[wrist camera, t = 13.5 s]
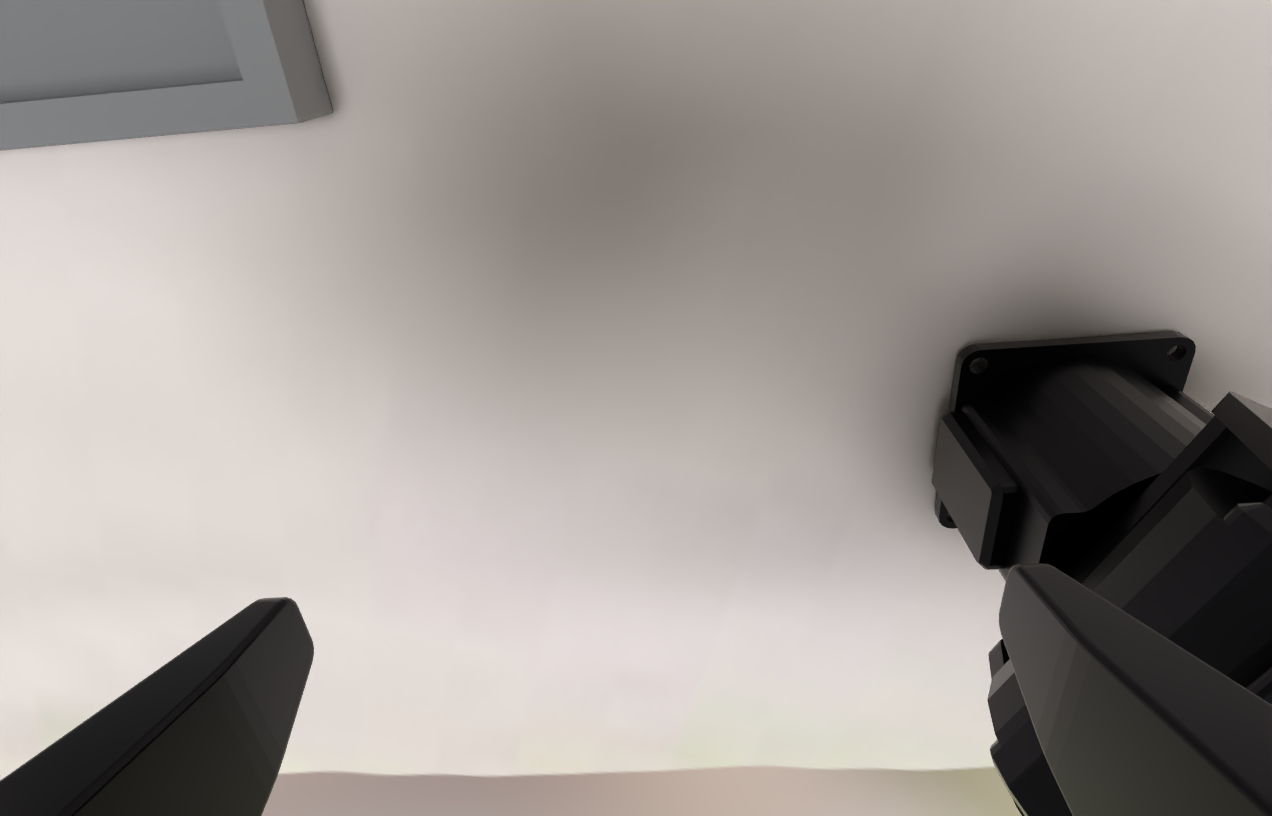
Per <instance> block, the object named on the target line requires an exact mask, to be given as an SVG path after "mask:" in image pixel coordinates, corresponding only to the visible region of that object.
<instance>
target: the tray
mask: <svg viewBox="0 0 1272 816" xmlns="http://www.w3.org/2000/svg"><path fill="white" fill-rule="evenodd" d="M330 113H333V111H332V107H331V103H330V100H329V96H328V92H327V89H326V85H325V81H324V78H323V74H322V70H321V67H320V63H319V59H318V56H317V52H316V48H315V45H314V41H313V37H312V34H311V30H310V26H309V23H308V19H307V15H306V11H305V8H304V4H303V0H0V150H11V149H22V148H33V147H44V146H54V145H65V144H76V143H87V142H98V141H109V140H120V139H131V138H141V137H152V136H163V135H174V134H185V133H196V132H207V131H218V130H228V129H239V128H250V127H261V126H272V125H283V124H294V123H300V122H304V121H307V120H310V119H314V118H317V117H320V116H324V115H327V114H330Z"/></svg>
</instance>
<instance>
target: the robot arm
mask: <svg viewBox="0 0 1272 816" xmlns="http://www.w3.org/2000/svg"><path fill="white" fill-rule="evenodd" d="M1174 346H1177V348H1176V350H1175V351H1174V352H1173V353H1172V354H1170V355H1167V353H1168V352H1169V350H1170V349H1171V348H1173V347H1174ZM1195 347H1196V346H1195V344H1194V342H1193V341H1192V340H1191V339H1189V338H1188V337H1186V336H1184V335H1183V334H1181V333H1180V332H1159V333H1143V334H1128V335H1113V336H1097V337H1082V338H1066V339H1051V340H1035V341H1020V342H1004V343H989V344H975V345H971V346H968V347H967V348H965V349H963V350H962V351H961V352H960V354H959V355H958V357H957V360H956V366H955V373H954V380H953V387H952V394H951V401H950V407H949V411H947V412H946V413H945V414H944V415H943V416H942V418H941V419H940V425H939V432H938V439H937V447H936V454H935V461H934V468H933V476H932V484H933V486H934V488H935V490H936V491H937V498H936V505H935V515H936V516H937V518H938V520H939V522H940V523H941V525H942V526H944V527H946V528H958V530H959V531H960V533H961V535H962V537H963V538H964V540H965V542H966V544H967V545H968V547H969V549H970V551H971V552H972V554H973V556H974V558H975V559H976V561H977V562H978V563H979V564H980V565H981V566H982V567H983V568H984V569H986V570H989V569H999V571H1000V573H1001V574H1002V576H1003V578H1004V579H1005V581H1006V584H1005V588H1004V593H1003V598H1002V602H1001V607H1000V612H999V626H1000V631H1001V635H1002V638H1003V639H1002V640H1000V641H999V642H998V643H997V644H996V646H995V647H994V648H993V649H992V650H991V651H990V652H989V662H990V670H991V678H992V682H991V686H990V691H989V695H988V705H989V709H990V713H991V718H992V722H993V726H994V731H995V735H996V737H997V739H998V740H997V741H996V742H995V743H994V744H993V745H992V746H991V748H990V752H991V756H992V759H993V763H994V765H995V767H996V769H997V771H998V773H999V775H1000V777H1001V778H1002V780H1003V782H1004V784H1005V786H1006V788H1007V789H1008V792H1009V793H1010V795H1011V796H1012V798H1013V800H1014V802H1015V805H1016V806H1017V808H1018V810H1019V811H1020V813H1021V814H1022V816H1272V409H1270V408H1268V407H1266V406H1263V405H1261V404H1259V403H1256V402H1254V401H1251V400H1249V399H1247V398H1244V397H1242V396H1240V395H1237V394H1235V393H1232V392H1229V393H1228V394H1227V395H1226V396H1225V397H1224V398H1223V399H1222V400H1221V401H1220V402H1219V404H1218V405H1217V406H1216V407H1215V408H1214V409H1213V410H1212V411H1211V412H1212V413H1213V414H1214V415H1215V416H1214V415H1213V414H1211V413H1210V412H1209V411H1207V410H1206V409H1204V408H1203V407H1202V406H1200V405H1199V404H1198V403H1196V402H1195V401H1193V400H1192V399H1191V398H1189V397H1188V396H1187V395H1185V394H1184V393H1182V391H1183V388H1184V385H1185V382H1186V379H1187V376H1188V373H1189V369H1190V366H1191V363H1192V360H1193V357H1194V354H1195ZM977 358H982V362H981V363H980V364H979V365H978V366H976V367H973V368H971V367H970V364H971V362H972V361H973V360H975V359H977ZM948 513H949V514H950V515H947V514H948ZM313 655H314V646H313V641H312V638H311V636H310V634H309V631H308V629H307V627H306V624H305V622H304V620H303V617H302V615H301V613H300V610H299V608H298V606H297V604H296V602H295V601H293V600H292V599H291V598H287V597H281V598H263V599H259V600H257V601H255V602H253V603H252V604H250V605H249V606H248V607H246V608H245V609H243V610H242V611H240V612H239V613H238V614H236V615H235V616H233V617H232V618H231V619H229V620H228V621H226V622H225V623H223V624H222V625H221V626H219V627H218V628H216V629H215V630H214V631H212V632H211V633H209V634H208V635H206V636H205V637H204V638H202V639H201V640H199V641H198V642H197V643H195V644H194V645H192V646H191V647H189V648H188V649H187V650H185V651H184V652H182V653H181V654H179V655H178V656H177V657H175V658H174V659H172V660H171V661H170V662H168V663H167V664H165V665H164V666H162V667H161V668H160V669H158V670H157V671H155V672H154V673H153V674H151V675H150V676H148V677H147V678H145V679H144V680H143V681H141V682H140V683H138V684H137V685H135V686H134V687H133V688H131V689H130V690H128V691H127V692H126V693H124V694H123V695H121V696H120V697H118V698H117V699H116V700H114V701H113V702H111V703H110V704H108V705H107V706H106V707H104V708H103V709H101V710H100V711H99V712H97V713H96V714H94V715H93V716H91V717H90V718H89V719H87V720H86V721H84V722H83V723H82V724H80V725H79V726H77V727H76V728H74V729H73V730H72V731H70V732H69V733H67V734H66V735H64V736H63V737H62V738H60V739H59V740H57V741H56V742H55V743H53V744H52V745H50V746H49V747H47V748H46V749H45V750H43V751H42V752H40V753H39V754H38V755H36V756H35V757H33V758H32V759H30V760H29V761H28V762H26V763H25V764H23V765H22V766H20V767H19V768H18V769H16V770H15V771H13V772H12V773H11V774H9V775H8V776H6V777H5V778H3V779H2V780H1V781H0V816H261V815H262V813H263V810H264V807H265V805H266V803H267V801H268V798H269V796H270V793H271V790H272V788H273V785H274V783H275V780H276V778H277V775H278V772H279V769H280V766H281V763H282V760H283V757H284V754H285V751H286V748H287V744H288V741H289V738H290V734H291V731H292V728H293V724H294V721H295V718H296V714H297V711H298V708H299V705H300V701H301V698H302V695H303V691H304V688H305V685H306V681H307V678H308V675H309V671H310V668H311V665H312V661H313Z"/></svg>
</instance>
